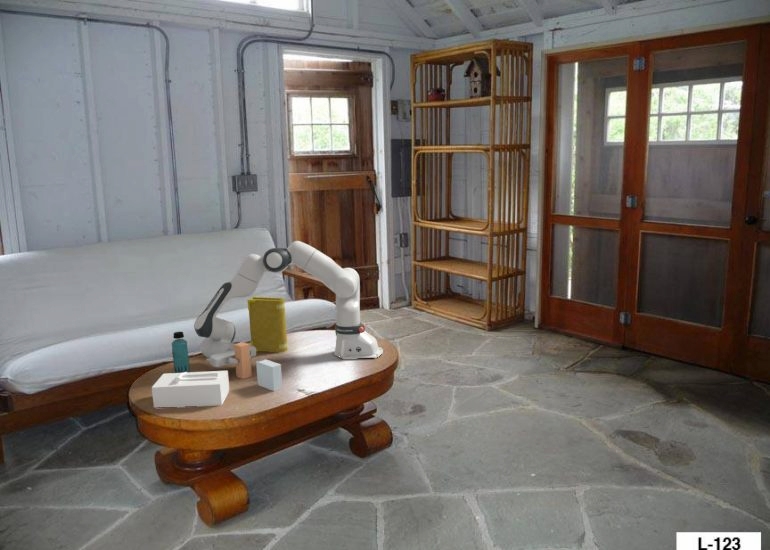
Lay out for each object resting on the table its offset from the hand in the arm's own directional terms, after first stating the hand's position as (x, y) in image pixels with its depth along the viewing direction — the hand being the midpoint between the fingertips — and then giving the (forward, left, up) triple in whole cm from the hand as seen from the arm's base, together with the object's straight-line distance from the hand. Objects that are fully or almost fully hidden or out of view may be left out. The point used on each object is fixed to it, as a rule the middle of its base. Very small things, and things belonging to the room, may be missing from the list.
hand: (243, 359), depth 257 cm
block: (+1, 0, -8) cm, 8 cm away
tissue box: (+10, +25, -8) cm, 28 cm away
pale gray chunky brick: (-15, +9, -8) cm, 19 cm away
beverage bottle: (+26, +5, -8) cm, 28 cm away
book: (+3, -35, -8) cm, 36 cm away
